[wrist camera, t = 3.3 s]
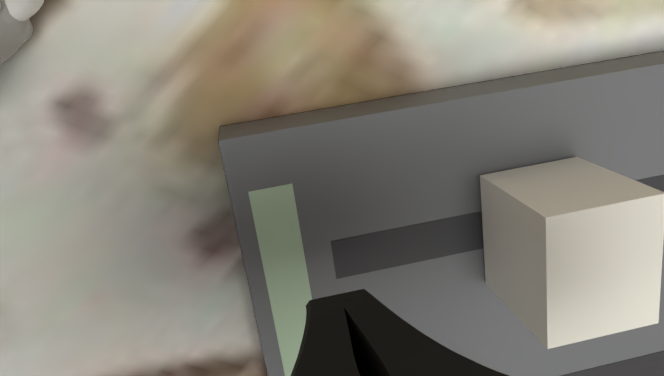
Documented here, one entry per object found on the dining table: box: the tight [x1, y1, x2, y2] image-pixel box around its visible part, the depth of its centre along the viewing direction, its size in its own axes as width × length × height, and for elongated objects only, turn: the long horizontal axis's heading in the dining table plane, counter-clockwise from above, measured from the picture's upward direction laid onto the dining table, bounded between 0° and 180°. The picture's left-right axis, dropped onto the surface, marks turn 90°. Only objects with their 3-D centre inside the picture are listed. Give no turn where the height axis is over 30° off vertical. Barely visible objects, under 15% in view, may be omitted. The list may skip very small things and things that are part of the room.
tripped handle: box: [480, 157, 664, 349], centre depth 15 cm, size 3×4×4 cm
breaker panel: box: [218, 51, 664, 376], centre depth 19 cm, size 18×20×2 cm
